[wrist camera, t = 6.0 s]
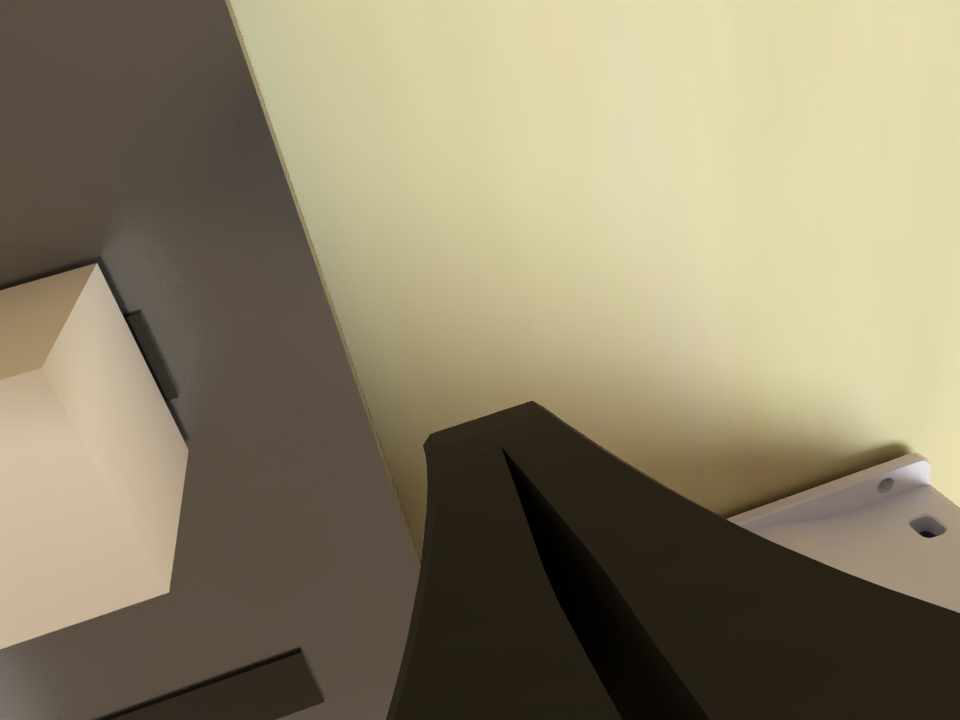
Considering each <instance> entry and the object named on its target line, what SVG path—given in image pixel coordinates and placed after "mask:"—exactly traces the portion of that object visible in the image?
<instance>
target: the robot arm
mask: <svg viewBox="0 0 960 720" xmlns="http://www.w3.org/2000/svg"><path fill="white" fill-rule="evenodd" d="M423 447H424V451H425V455H426V462H427V475H428V492H427V514H426V524H425V533H424V542H423V551H422V561H421V567H420V574H419V580H418V585H417V590H416V595H415V601H414V606H413V611H412V616H411V621H410V627H409V632H408V637H407V641H406V646H405V650H404V654H403V658H402V662H401V666H400V670H399V674H398V678H397V682H396V685H395V689H394V693H393V696H392V700H391V703H390V707H389V710H388V714H387V717H386V720H960V508H959V507H958V506H957V505H955V504H954V503H953V502H951V501H950V500H949V499H948V498H946V497H945V496H944V495H942V494H941V493H940V492H939V491H937V490H936V489H935V488H933V487H932V486H931V485H930V477H931V463H930V462H929V461H928V460H927V459H926V458H925V457H923V456H922V455H921V454H918V453H911V454H907V455H904V456H902V457H899V458H896V459H893V460H890V461H887V462H885V463H882V464H879V465H876V466H873V467H871V468H868V469H865V470H862V471H859V472H856V473H854V474H851V475H848V476H845V477H842V478H840V479H837V480H834V481H831V482H828V483H826V484H823V485H820V486H817V487H814V488H811V489H809V490H806V491H803V492H800V493H797V494H795V495H792V496H789V497H786V498H783V499H780V500H778V501H775V502H772V503H769V504H766V505H764V506H761V507H758V508H755V509H752V510H749V511H747V512H744V513H741V514H738V515H735V516H733V517H730V518H727V519H725V518H723V517H721V516H719V515H717V514H715V513H713V512H711V511H710V510H708V509H706V508H704V507H702V506H700V505H698V504H696V503H694V502H692V501H691V500H689V499H687V498H685V497H684V496H682V495H680V494H678V493H676V492H675V491H673V490H671V489H669V488H668V487H666V486H664V485H662V484H661V483H659V482H657V481H656V480H654V479H652V478H651V477H649V476H647V475H646V474H644V473H642V472H641V471H639V470H637V469H636V468H634V467H632V466H631V465H629V464H627V463H626V462H624V461H622V460H621V459H619V458H618V457H616V456H615V455H613V454H611V453H610V452H608V451H607V450H605V449H604V448H602V447H601V446H599V445H598V444H596V443H595V442H593V441H592V440H590V439H589V438H587V437H586V436H584V435H583V434H581V433H580V432H578V431H577V430H575V429H574V428H572V427H571V426H570V425H568V424H567V423H565V422H564V421H562V420H561V419H560V418H558V417H557V416H555V415H554V414H553V413H551V412H550V411H548V410H547V409H546V408H544V407H543V406H541V405H539V404H537V403H535V402H533V401H530V402H527V403H524V404H521V405H518V406H515V407H512V408H509V409H506V410H502V411H499V412H496V413H493V414H490V415H487V416H484V417H481V418H478V419H475V420H472V421H469V422H466V423H463V424H460V425H457V426H454V427H450V428H447V429H444V430H441V431H438V432H435V433H432V434H430V435H429V437H428V439H427V440H426V442H425V443H424V445H423Z"/></svg>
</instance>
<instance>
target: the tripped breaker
mask: <svg viewBox="0 0 960 720" xmlns="http://www.w3.org/2000/svg"><path fill="white" fill-rule="evenodd" d="M188 452H189V450H188V448H187V446H186V444H185V442H184V440H183V438H182V436H181V433H180V431H179V429H178V427H177V425H176V423H175V421H174V419H173V417H172V415H171V413H170V411H169V409H168V407H167V405H166V403H165V401H164V399H163V397H162V395H161V393H160V391H159V389H158V386H157V384H156V382H155V380H154V378H153V376H152V374H151V372H150V370H149V368H148V366H147V364H146V362H145V360H144V358H143V356H142V354H141V352H140V350H139V348H138V346H137V344H136V342H135V339H134V337H133V335H132V333H131V331H130V329H129V327H128V325H127V323H126V321H125V319H124V317H123V315H122V313H121V311H120V309H119V307H118V305H117V303H116V301H115V299H114V297H113V294H112V292H111V290H110V288H109V286H108V284H107V282H106V280H105V278H104V276H103V274H102V272H101V270H100V268H99V266H98V264H97V263H95V264H91V265H88V266H84V267H81V268H77V269H74V270H70V271H67V272H63V273H60V274H56V275H53V276H49V277H46V278H42V279H39V280H35V281H32V282H28V283H25V284H21V285H18V286H14V287H11V288H7V289H4V290H0V649H3V648H6V647H9V646H12V645H15V644H18V643H21V642H23V641H26V640H29V639H32V638H35V637H38V636H41V635H44V634H47V633H50V632H53V631H56V630H59V629H62V628H65V627H68V626H71V625H74V624H77V623H80V622H83V621H86V620H89V619H92V618H95V617H98V616H101V615H104V614H107V613H110V612H113V611H116V610H118V609H121V608H124V607H127V606H130V605H133V604H136V603H139V602H142V601H145V600H148V599H151V598H154V597H157V596H160V595H163V594H166V593H169V589H170V582H171V575H172V567H173V560H174V553H175V546H176V538H177V531H178V524H179V517H180V509H181V502H182V495H183V488H184V481H185V473H186V466H187V459H188Z"/></svg>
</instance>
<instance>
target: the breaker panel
mask: <svg viewBox="0 0 960 720" xmlns="http://www.w3.org/2000/svg"><path fill="white" fill-rule="evenodd" d="M95 263H97V264H98V266H99V268H100V270H101V272H102V274H103V276H104V278H105V280H106V282H107V284H108V286H109V288H110V290H111V292H112V294H113V297H114V299H115V301H116V303H117V305H118V307H119V309H120V311H121V313H122V315H123V317H124V319H125V321H126V323H127V325H128V327H129V329H130V331H131V333H132V335H133V337H134V339H135V342H136V344H137V346H138V348H139V350H140V352H141V354H142V356H143V358H144V360H145V362H146V364H147V366H148V368H149V370H150V372H151V374H152V376H153V378H154V380H155V382H156V384H157V386H158V389H159V391H160V393H161V395H162V397H163V399H164V401H165V403H166V405H167V407H168V409H169V411H170V413H171V415H172V417H173V419H174V421H175V423H176V425H177V427H178V429H179V431H180V433H181V436H182V438H183V440H184V442H185V444H186V446H187V448H188V450H189V452H188V459H187V466H186V473H185V481H184V488H183V495H182V502H181V509H180V517H179V524H178V531H177V538H176V546H175V553H174V560H173V567H172V575H171V582H170V589H169V593H166V594H163V595H160V596H157V597H154V598H151V599H148V600H145V601H142V602H139V603H136V604H133V605H130V606H127V607H124V608H121V609H118V610H116V611H113V612H110V613H107V614H104V615H101V616H98V617H95V618H92V619H89V620H86V621H83V622H80V623H77V624H74V625H71V626H68V627H65V628H62V629H59V630H56V631H53V632H50V633H47V634H44V635H41V636H38V637H35V638H32V639H29V640H26V641H23V642H21V643H18V644H15V645H12V646H9V647H6V648H3V649H0V720H386V717H387V714H388V710H389V707H390V703H391V700H392V696H393V693H394V689H395V685H396V682H397V678H398V674H399V670H400V666H401V662H402V658H403V654H404V650H405V646H406V641H407V637H408V632H409V627H410V621H411V616H412V611H413V606H414V601H415V595H416V590H417V585H418V580H419V574H420V567H421V563H420V560H419V557H418V554H417V551H416V548H415V545H414V542H413V539H412V536H411V533H410V530H409V527H408V524H407V521H406V518H405V515H404V513H403V510H402V507H401V504H400V501H399V498H398V495H397V492H396V489H395V486H394V483H393V480H392V477H391V474H390V471H389V468H388V465H387V463H386V460H385V457H384V454H383V451H382V448H381V445H380V442H379V439H378V436H377V433H376V430H375V427H374V424H373V421H372V418H371V415H370V413H369V410H368V407H367V404H366V401H365V398H364V395H363V392H362V389H361V386H360V383H359V380H358V377H357V374H356V371H355V368H354V365H353V362H352V360H351V357H350V354H349V351H348V348H347V345H346V342H345V339H344V336H343V333H342V330H341V327H340V324H339V321H338V318H337V315H336V312H335V310H334V307H333V304H332V301H331V298H330V295H329V292H328V289H327V286H326V283H325V280H324V277H323V274H322V271H321V268H320V265H319V262H318V259H317V257H316V254H315V251H314V248H313V245H312V242H311V239H310V236H309V233H308V230H307V227H306V224H305V221H304V218H303V215H302V212H301V209H300V207H299V204H298V201H297V198H296V195H295V192H294V189H293V186H292V183H291V180H290V177H289V174H288V171H287V168H286V165H285V162H284V159H283V157H282V154H281V151H280V148H279V145H278V142H277V139H276V136H275V133H274V130H273V127H272V124H271V121H270V118H269V115H268V112H267V109H266V106H265V104H264V101H263V98H262V95H261V92H260V89H259V86H258V83H257V80H256V77H255V74H254V71H253V68H252V65H251V62H250V59H249V56H248V54H247V51H246V48H245V45H244V42H243V39H242V36H241V33H240V30H239V27H238V24H237V21H236V18H235V15H234V12H233V9H232V6H231V3H230V1H229V0H0V290H4V289H7V288H11V287H14V286H18V285H21V284H25V283H28V282H32V281H35V280H39V279H42V278H46V277H49V276H53V275H56V274H60V273H63V272H67V271H70V270H74V269H77V268H81V267H84V266H88V265H91V264H95Z"/></svg>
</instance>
